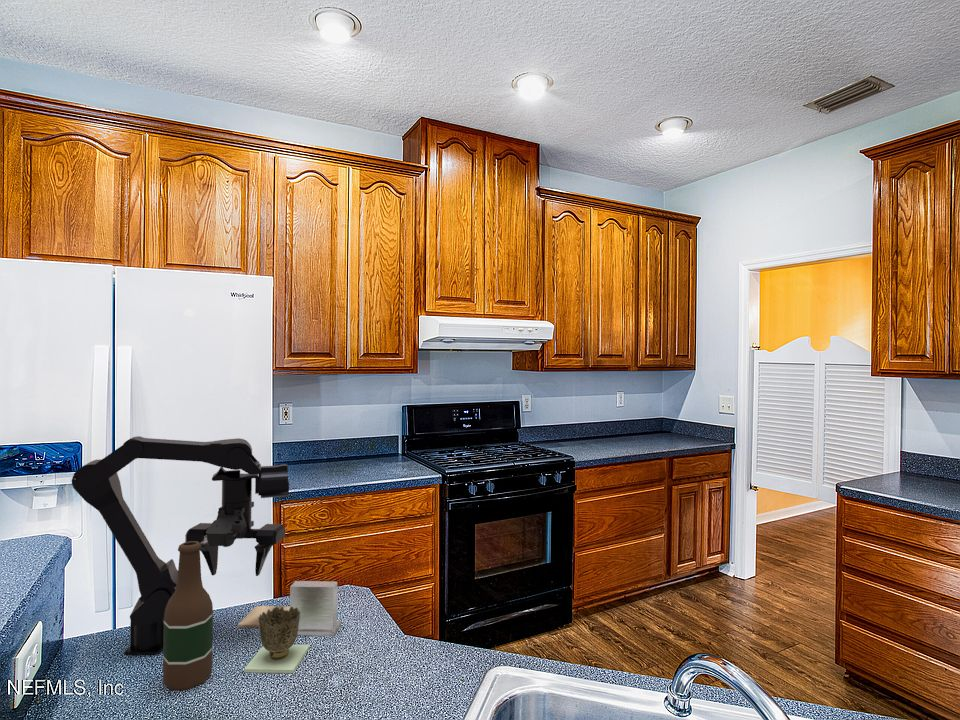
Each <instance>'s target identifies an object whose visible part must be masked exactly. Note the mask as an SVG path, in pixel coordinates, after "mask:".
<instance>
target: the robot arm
mask: <svg viewBox="0 0 960 720" xmlns="http://www.w3.org/2000/svg"><path fill="white" fill-rule="evenodd" d="M136 459H147V460H148V459H149V460H167V461H168V460H169V461H182V462H183V461H184V462H186V461H187V462H199V463H200V462H202V463H206V464H209V465H213V466H216V467H219V469H218V470H217V472H216V473H214V474H213V475H212V477H211V481H213V482H218V481H221V506H220V507H218V511H217V516H216V519H215V520H213V521H212V522H208V523H207V522H200V523H198V524H196V525H194V526H192V527H190V528H189V529H188V530H187V531H186V533H185V536H184V537H185V540H184V541H185V542H189V541H198V542H199V543H201V547H202V548H201V549H200V553H202V555H203V557H204V559H205V561H206V562H205V563H206V564H207V567H208V569H209V571H210V575H211V576H215V575H216V574H217V571H218V562H219V561H218V560H219V547H224V548H229V547H231V546H232V545H233V544H234V543H235V540H240V539H241V540H242V539H255V542H256V543H257V544H256V545H255V546H254V549H255V553H256V556H255V557H256V558H255V571H254V572H255V576H256V577H258V576H260V575H261V572H262V569H263V567H264V564H265V562H266V559H267V557H268V554H269V553H270V550H271V549H272V547H273V546H275V545H277V544H278V543H279V542H280V541H282V540H283V539H284V538H285V537H286V527H285V525H284V524H282V523H266V524H264V525H263V526H262V527H260V528H252V527H254V526H255V524H254V523H255V522H254V520H252V508H253V507H255V501H252V500H253V499H252V490H253V489H252V487H253V479H255V480H254V481H255V486H254V487H255V488H254V489H255V491H254V493H255V495H256V494H257V495H258V496H260V499H269V498H281V497H289V495H290V479H289V472H288V470H289V469H288V467H289V466H288V464H287V463H280V464H278V465H264V466H263V465H261V463H260V461H259V460H258V459H257V458H256V457H255V456H254V455H253V448H252V445H251V444H250V442H249V441H248V440H246V439H244V438H238V437H237V438H228V439H226V438H225V439H219V440H212V441H196V440H195V441H193V440H183V439H182V440H181V439H166V438H152V437H151V438H149V437H143V436H139V435H137V436H133V437H130V438H129V439H127V440H126V441H124V442H123V444H122V445H120V446H119V447H118V448H116V449H115V450H113V451H112V452H111V453H108V455H107V456H104V457H103V458H102V459H94V460H91V461H89V462H88V463H86V464H84V465H82V466H81V467H80V468H77V469H76V470H75V472H74V473H73V475H72V478H71V485H72V488H73V489H74V490H75V492H76V493H77V494H78V495H79V496H80V497H81V498H82V499H83V500H84V501H85V502H86V503H87V504H88V505H90V506H91V507H93V508H94V509H95V510H96V511H98V512H99V513H100V516H102V519H103V520H104V522H105V523H106V525H107V527H108V529H109V530H110V531H111V534H112V535H113V537H114V538H115V540H116V542H117V544H118V545H119V546H120V548H121V550H122V552H123V554H124V555H125V557H126V558H127V560H128V562H129V563H130V565H131V567H132V569H133V570H134V572H135V574H136V580H137V585H138V589H139V590H138V591H139V593H140V597H138V599H137V601H136V604H135V605H134V607H133V609H132V611H131V613H130V615H129V619H130V624H129V625H130V626H129V627H130V629H129V631H130V634H129V635H130V637H129V641H130V642H129V647H128V648H126V649H124V654H126V655H132V654H133V655H157V654H159V653H160V652H161V651H163V632H164V613H165V608H166V606H167V603H168V601H169V599H170V598H171V596H172V595H173V593H174V592H175V590H176V585H177V579H178V568H177V567H176V563H175V562H174V559H172V558H171V559H169V560H168V561H167V562H165V561H163V560H162V559H160V557H159V556H158V555H157V553H156V552H155V549H154V548H153V546H152V544H151V543H150V541H149V540H148V538H147V536H146V535H145V533H144V531H143V529H142V528H141V526H140V524H139V523H138V521H137V519H136V517H135V515H134V514H133V513H132V511H131V510H130V507H129V506H128V504H127V502H126V501H125V499H124V497H123V491H122V490H123V489H122V486H121V485H122V484H121V479H120V478H119V475H118V472H120V470H122V469H123V468H125V467H127V465H129V464H130V463H132V462H134V461H135V460H136ZM226 469H228V470H226ZM241 471H244V472H245V473H241Z"/></svg>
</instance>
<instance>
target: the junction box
mask: <svg viewBox="0 0 960 720" xmlns="http://www.w3.org/2000/svg"><path fill="white" fill-rule="evenodd" d="M289 588H290V589H289V592H290V593H289V607H293V609H295V608H298V610H299V611H300V618H299V627H298V633H297V636H316V637H317V636H318V637H321V636H322V637H323V636H326V637H330V636H331V637H334V636H336V634H337V632H338V630H339V629H340V627H341V626H342V620H338V581H332V580H331V581H325V580H323V581H320V580H319V581H318V580H295V581H294V582H293V583H292V584H291V585H290V587H289Z"/></svg>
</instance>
